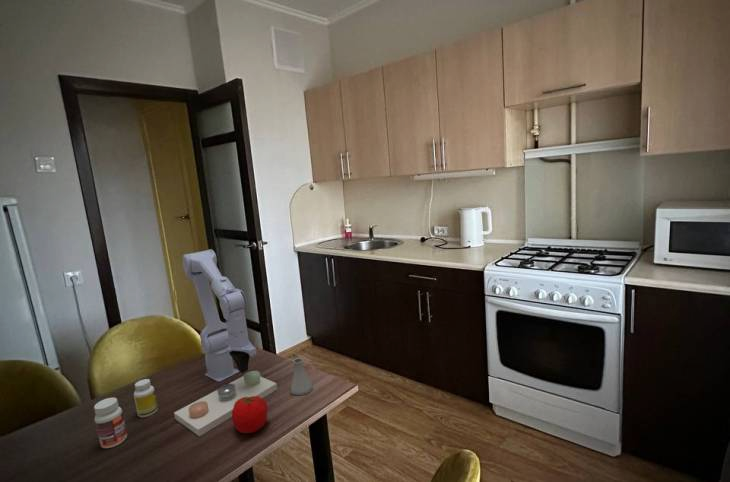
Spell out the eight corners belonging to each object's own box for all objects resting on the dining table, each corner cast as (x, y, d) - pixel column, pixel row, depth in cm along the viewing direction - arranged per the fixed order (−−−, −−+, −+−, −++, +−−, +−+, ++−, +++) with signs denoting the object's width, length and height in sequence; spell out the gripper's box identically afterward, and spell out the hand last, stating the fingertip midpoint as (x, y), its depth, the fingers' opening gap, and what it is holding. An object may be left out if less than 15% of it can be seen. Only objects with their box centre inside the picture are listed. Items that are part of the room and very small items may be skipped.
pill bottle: (122, 446, 100) (113, 407, 98) (96, 451, 99) (87, 412, 97) (131, 431, 106) (123, 394, 104) (106, 436, 105) (98, 399, 103)
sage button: (241, 381, 121) (240, 376, 121) (254, 374, 125) (253, 369, 125) (250, 385, 118) (249, 380, 118) (263, 378, 122) (262, 373, 121)
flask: (315, 382, 122) (312, 354, 121) (310, 395, 115) (306, 365, 114) (293, 383, 123) (290, 354, 121) (287, 396, 116) (283, 366, 114)
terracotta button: (186, 413, 108) (185, 408, 107) (202, 404, 111) (202, 399, 111) (195, 419, 104) (193, 414, 104) (211, 410, 108) (210, 404, 108)
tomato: (251, 443, 96) (246, 413, 95) (224, 432, 102) (219, 404, 100) (277, 422, 104) (273, 394, 103) (251, 412, 109) (247, 386, 108)
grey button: (215, 395, 114) (214, 389, 114) (229, 387, 118) (229, 382, 118) (224, 400, 111) (223, 394, 111) (239, 391, 115) (238, 386, 115)
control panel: (175, 418, 110) (173, 412, 109) (251, 377, 129) (250, 372, 129) (199, 436, 101) (198, 429, 101) (277, 389, 121) (276, 383, 120)
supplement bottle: (161, 410, 114) (155, 381, 113) (141, 420, 111) (134, 389, 109) (154, 404, 118) (148, 375, 116) (135, 413, 114) (129, 383, 113)
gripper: (213, 330, 118) (219, 370, 120) (239, 340, 109) (245, 383, 111) (233, 322, 123) (239, 361, 126) (259, 331, 114) (265, 372, 116)
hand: (243, 371), depth 119 cm, fingers closed
